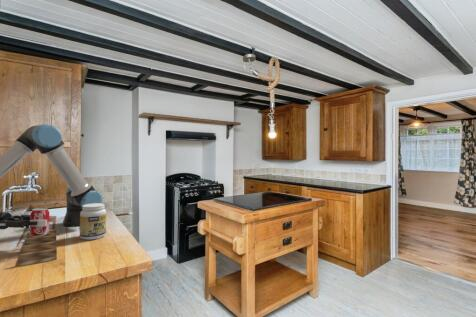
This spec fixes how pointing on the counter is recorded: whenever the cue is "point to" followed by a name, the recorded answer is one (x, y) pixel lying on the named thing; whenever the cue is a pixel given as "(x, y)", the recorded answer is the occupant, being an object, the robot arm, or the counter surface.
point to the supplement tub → (92, 221)
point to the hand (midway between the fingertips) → (51, 220)
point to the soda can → (39, 215)
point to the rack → (39, 249)
